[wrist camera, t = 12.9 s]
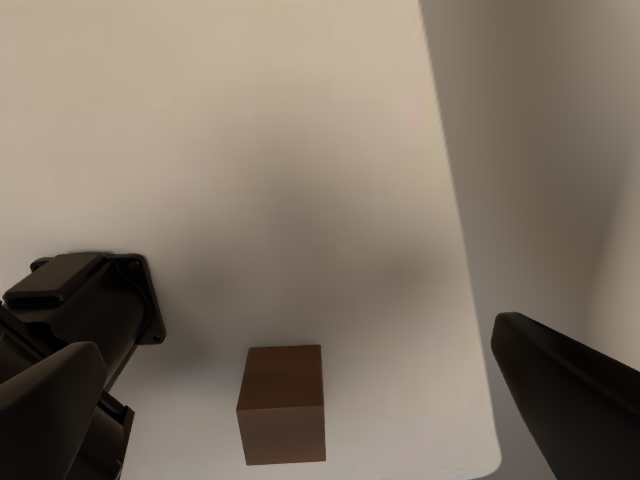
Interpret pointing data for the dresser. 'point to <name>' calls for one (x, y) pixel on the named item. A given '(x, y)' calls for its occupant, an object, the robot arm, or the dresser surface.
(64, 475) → the robot arm
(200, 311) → the dresser surface
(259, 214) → the dresser surface
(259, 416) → the block
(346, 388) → the dresser surface
